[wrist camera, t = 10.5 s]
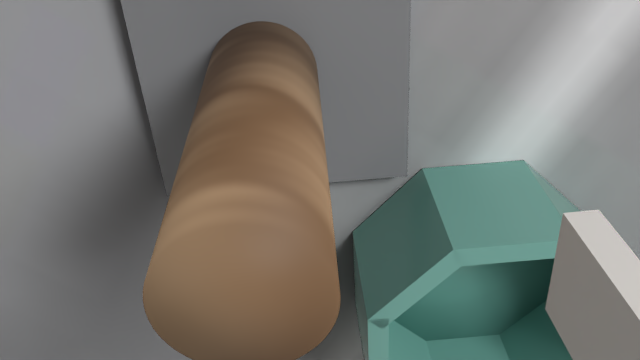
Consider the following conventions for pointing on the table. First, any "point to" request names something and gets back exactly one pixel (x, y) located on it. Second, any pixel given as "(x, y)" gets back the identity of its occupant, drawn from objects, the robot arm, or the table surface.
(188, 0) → the coaster
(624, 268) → the robot arm
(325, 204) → the dowel
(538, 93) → the table surface
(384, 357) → the teal octagonal bowl
